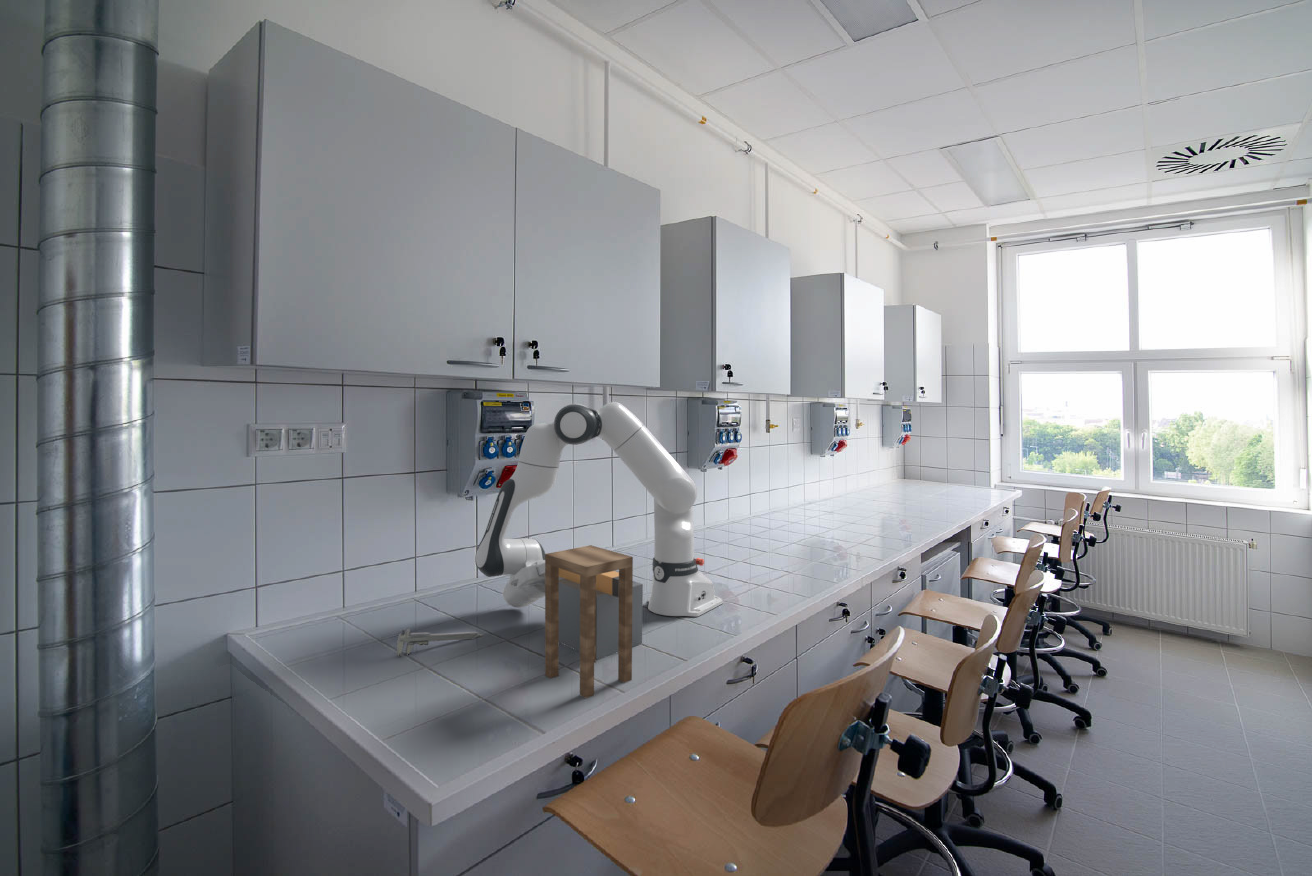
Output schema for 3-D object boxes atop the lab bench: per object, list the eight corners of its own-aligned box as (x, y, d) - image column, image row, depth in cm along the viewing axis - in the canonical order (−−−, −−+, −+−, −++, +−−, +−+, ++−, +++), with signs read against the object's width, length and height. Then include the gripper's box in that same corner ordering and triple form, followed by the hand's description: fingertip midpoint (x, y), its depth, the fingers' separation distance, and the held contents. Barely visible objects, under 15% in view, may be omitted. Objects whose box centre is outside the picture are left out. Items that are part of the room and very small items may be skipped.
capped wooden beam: (568, 572, 160) (568, 556, 160) (631, 593, 143) (631, 576, 143) (555, 575, 158) (555, 559, 157) (618, 597, 140) (618, 579, 140)
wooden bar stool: (590, 659, 142) (590, 545, 140) (631, 679, 132) (632, 556, 130) (545, 675, 134) (545, 553, 132) (586, 698, 124) (586, 567, 122)
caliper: (398, 658, 142) (397, 631, 142) (396, 657, 143) (396, 630, 142) (482, 637, 156) (482, 612, 155) (480, 635, 156) (480, 610, 156)
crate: (599, 626, 163) (600, 570, 162) (642, 643, 152) (642, 584, 151) (554, 640, 153) (555, 581, 153) (596, 659, 142) (596, 596, 141)
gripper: (503, 573, 159) (530, 555, 150) (569, 560, 173) (597, 542, 164) (510, 598, 157) (537, 580, 148) (576, 582, 171) (605, 565, 162)
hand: (569, 560), depth 156 cm, fingers open, 8 cm apart
